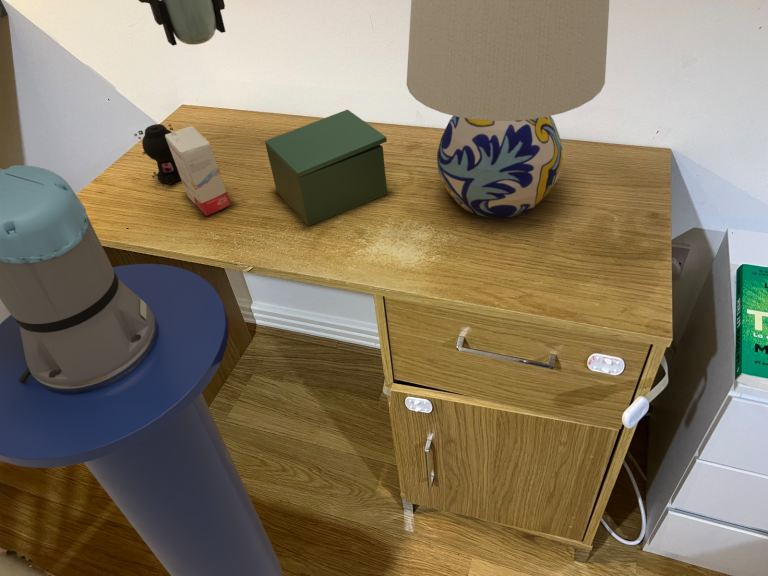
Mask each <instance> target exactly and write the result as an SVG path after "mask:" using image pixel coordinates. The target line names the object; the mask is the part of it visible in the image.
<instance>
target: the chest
mask: <svg viewBox="0 0 768 576" xmlns="http://www.w3.org/2000/svg"><path fill="white" fill-rule="evenodd" d="M265 149H266V153H267V157H268V162H269V165H270V169H271V174H272V179H273V182H274V187H275V191H276V194H278V195H279V196H280V198H282V199H283V201H284V202H285V203H286V204H287V205H288V206H289V207H290V208H291V210H292V211H294V213H295V214H296V215H297V216H298V217H299V218H300V219H301V220H302V221H303V222H304V223H305V225H306V226H307V227H310V226H312V225H315V224H318V223H321V222H322V221H325V220H327V219H330V218H333V217H335V216H337V215H340V214H342V213H345V212H348V211H349V210H352V209H355V208H357V207H360V206H362V205H365V204H367V203H370V202H372V201H374V200H378V199H380V198H382V197H385V196H387V195H388V188H387V179H386V167H385V156H384V147H383V145H382V144H379V145H377V146H374V147H372V148H370V149H367V150H365V151H362V152H360V153H357V154H355V155H352V156H350V157H348V158H345V159H343V160H340V161H338V162H335V163H333V164H330V165H328V166H325V167H323V168H321V169H318V170H316V171H313V172H311V173H308V174H306V175H303V176H301V177H297V176H296V175H295V174H294V173H293V172H292V171H291V170H290V169H289V168H288V167H287V166H286V165H285V164H284V163H283V162H282V161H281V160H280V159H279V158H278V157H277V156H276V155H275V154H274V153H273V152H272V151H271V150H270V149H269V148H268V147H267V146H266V145H265Z"/></svg>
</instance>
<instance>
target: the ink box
mask: <svg viewBox="0 0 768 576" xmlns="http://www.w3.org/2000/svg"><path fill="white" fill-rule="evenodd" d="M171 132H172V131H171ZM165 137H166V140H167V142H168V145H169V148H170V150H171V153H172V156H173V158H174V161H175V164H176V166H177V169H178V172H179V175H180V177H181V179H180V180H181V182H182V185H183V188H184V190H185V191H184V192H185V193H186V196H187V197H188V198H189V200H190V201H191V202H192V203H193V204H194V205H195V206H196V207H197V208H198V209H199V210H200V211H201V212H202V213H203V214H204V215H205V216H210V215H212V214H214V213H217V212H220V211H221V210H223V209H225V208H227V207H229V206H231V205H232V203H231V200H230V198H229V195H228V192H227V189H226V187H225V184H224V181H223V177H222V175H221V172H220V169H219V167H218V163H217V161H216V158H215V155H214V151H213V148H212V146H211V143H210V142H209V141H208V140H207V139H206V138H205V137H204V136H203V135H202V133H200V132H199V131H198V129H196V128H195V127H194V126H193V125H189V126H186V127H182V128H181V129H178V130H175V131H173V132H172V133H169V134H166V135H165Z"/></svg>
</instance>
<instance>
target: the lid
mask: <svg viewBox="0 0 768 576" xmlns="http://www.w3.org/2000/svg"><path fill="white" fill-rule="evenodd" d="M386 142H388V140H387V136H386V135H384V134H383V133H381V132H380V131H379V130H377V129H376V128H374V127H373V126H371V124H369V123H367V122H366V121H365V120H363V119H362V118H360V117H359V116H358V115H356V114H355V113H353V112H352V111H351V110H349V109H345V110H342V111H340V112H337V113H334V114H331V115H329V116H326V117H324V118H321V119H318V120H316V121H313V122H310V123H308V124H306V125H303V126H300V127H298V128H297V127H296V128H294V129H292V130H289V131H287V132H284V133H281V134H279V135H276V136H274V137H271V138H268V139H266V140H264V145H265V147H266V146H267V147H268V148H269V149H270V150H271V151H272V152H273V153H274V154H275V155H276V156H277V157H278V158H279V159H280V160H281V161H282V162H283V163H284V164H285V165H286V166H287V167H288V168H289V169H290V170H291V171H292V172H293V173H294V174H295V175H296V176H297V177H301V176H303V175H306V174H308V173H311V172H313V171H316V170H318V169H321V168H323V167H325V166H328V165H330V164H333V163H335V162H338V161H340V160H343V159H345V158H348V157H350V156H352V155H355V154H357V153H360V152H362V151H365V150H367V149H370V148H372V147H374V146H377V145H379V144H380V145H382V144H384V143H386Z"/></svg>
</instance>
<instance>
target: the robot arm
mask: <svg viewBox="0 0 768 576" xmlns="http://www.w3.org/2000/svg"><path fill="white" fill-rule="evenodd" d="M138 2H140V3H141V4H149V7H150V9H151V13H152V16H153V19H154V22H155V23H156V24H157V25H158V26H162V27H163V31H164V34H165V37H166V40H167V43H168V44H170V45H171V46H173V47H174V46H177V45H178V43H177V40H176V36H175V35H174V33H173V30H172V26H171V23H170V20H169V16H168V13H167V10H166V6H165V3H163V2H162V1H161V0H138ZM212 3H213V7H214V13H215V19H216V31H218V32H219V33H221V34H224V33H226V26H225V23H224V20H223V16H222V10H225V8H226V4H225V1H224V0H212ZM113 267H114V266H113V265H112V264H111V261H110V259H109V257H108V255H107V253H106V251H105V250H104V247H103V245H102V244H101V241H100V239H99V237H98V234H97V232H96V231H95V229H94V226H93V225H92V222H91V220H90V218H89V216H88V214H87V211H86V208H85V205H84V204H83V202H82V201H81V199H80V198H79V197H78V196H77V195H76V193H75V191H74V190H73V188H72V187H71V185H70V184H69V182H67V180H65V179H64V178H63V177H62V176H60V175H59V174H57V173H56V172H54V171H51V170H50V169H47V168H44V167H40V166H35V165H34V166H33V165H11V166H9V167H7V168H5V169H2V167H0V302H1V303H2V304H3V305H4V307H5V308H6V310H7V311H8V312H9V314H10V315H12V316H13V318H14V319H15V321H16V322H17V324H18V325H19V327H20V332H21V337H22V342H23V347H24V353H25V358H26V363H27V365H28V368H27V369H26V371H25V372H24V373H23V374H22V376H21V377H20V378H19V379H18V381H19V382H20V383H24V382H25V381H26V379H27V378H28V377H29V376H30V374H32V375H33V376H34V378H35V379H36V380H37V382H38V383H39V384H40V385H41V386H42V387H44V388H45V389H47V390H49V391H52V392H56V393H61V394H78V393H85V392H90V391H93V390H97V389H100V388H103V387H105V386H108V385H110V384H112V383H114V382H116V381H118V380H120V379H121V378H123V377H125V376H126V375H128V374H129V373H130V372H132V371H133V370H134V369H135V368H137V367H138V366H139V365H140V364H141V363H142V362H143V361H144V360H145V359H146V358H147V356H148V355H149V354H150V352H151V351H152V349H153V347H154V345H155V343H156V340H157V337H158V324H157V321H156V319H155V317H154V315H153V313H152V311H151V309H150V308H149V306H148V305H147V304H146V303H145V302H144V301H143V300H142V299H140V298H139V297H138V296H137V295H136V294H135V293H134V292H132V291H131V290H130V289H129V288H128V287H127V286H126V285H124V284H123V283H122V282H121V281H120V280H119V279H118V277H117V275H116V273H115V271H114V269H113Z"/></svg>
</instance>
